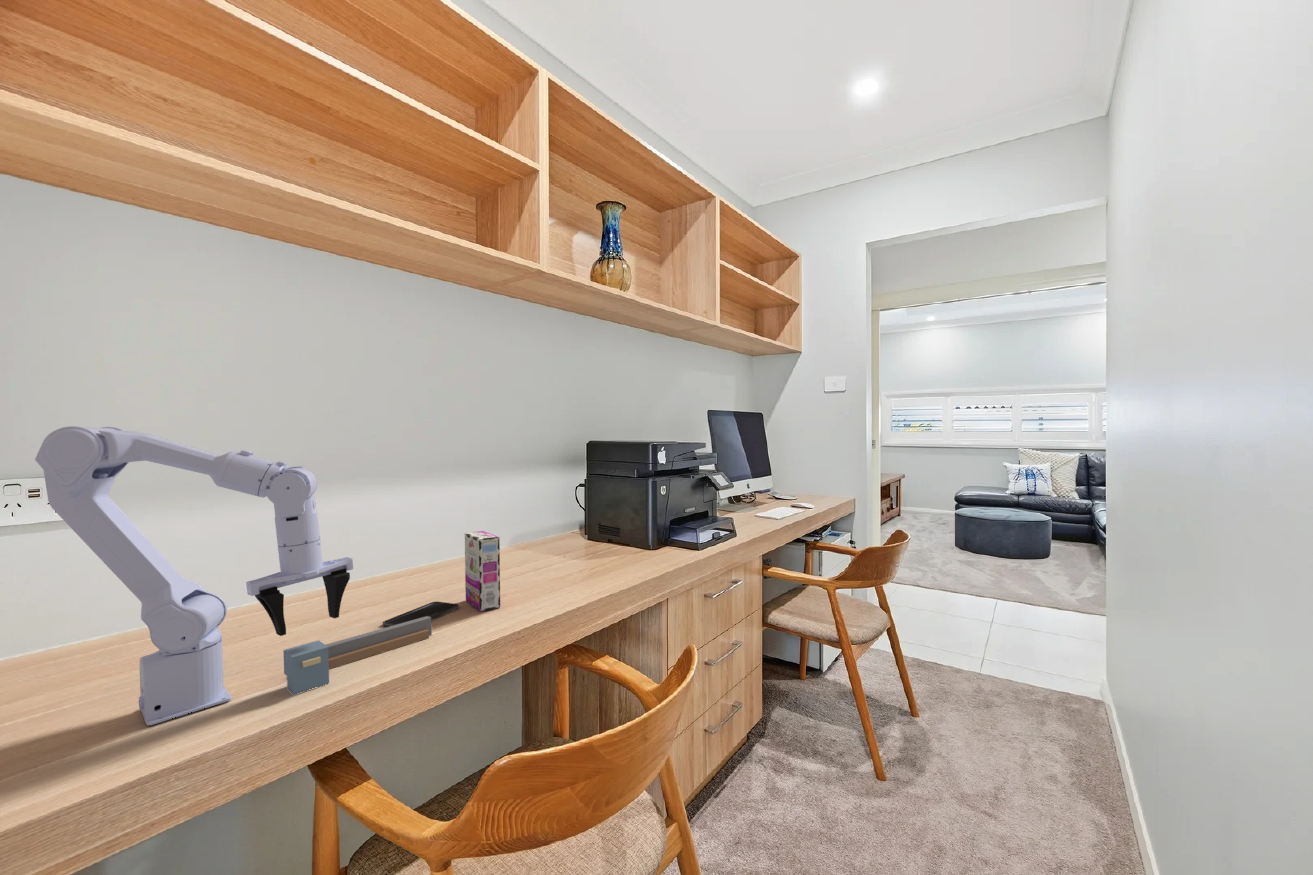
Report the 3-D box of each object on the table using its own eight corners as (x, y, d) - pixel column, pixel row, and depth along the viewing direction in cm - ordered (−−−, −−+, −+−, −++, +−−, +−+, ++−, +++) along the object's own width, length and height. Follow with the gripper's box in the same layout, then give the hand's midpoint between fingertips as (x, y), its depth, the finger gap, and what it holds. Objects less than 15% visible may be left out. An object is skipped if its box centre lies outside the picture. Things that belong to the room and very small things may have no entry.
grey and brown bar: (320, 672, 91) (319, 651, 91) (314, 667, 93) (314, 647, 93) (434, 636, 106) (433, 618, 106) (427, 633, 108) (427, 616, 108)
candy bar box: (502, 607, 123) (500, 536, 122) (480, 612, 120) (478, 539, 120) (485, 596, 132) (483, 529, 131) (464, 600, 129) (463, 532, 128)
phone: (380, 622, 112) (434, 601, 126) (380, 628, 112) (434, 605, 126) (408, 627, 109) (460, 604, 123) (408, 632, 109) (461, 609, 123)
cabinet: (294, 697, 83) (293, 658, 83) (284, 687, 86) (283, 649, 86) (330, 685, 86) (329, 648, 86) (319, 675, 90) (318, 640, 90)
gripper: (253, 556, 78) (264, 647, 78) (357, 533, 89) (366, 613, 90) (238, 552, 82) (248, 638, 83) (339, 531, 94) (347, 607, 94)
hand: (308, 625), depth 87 cm, fingers open, 7 cm apart
